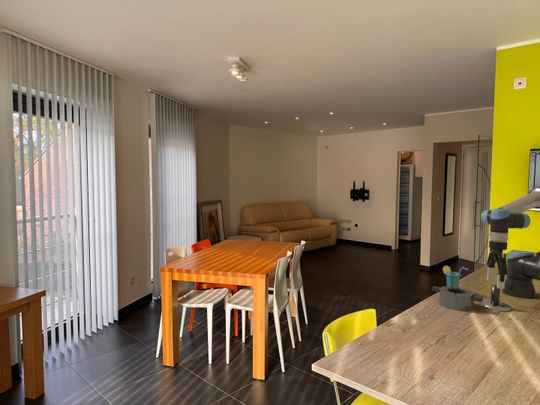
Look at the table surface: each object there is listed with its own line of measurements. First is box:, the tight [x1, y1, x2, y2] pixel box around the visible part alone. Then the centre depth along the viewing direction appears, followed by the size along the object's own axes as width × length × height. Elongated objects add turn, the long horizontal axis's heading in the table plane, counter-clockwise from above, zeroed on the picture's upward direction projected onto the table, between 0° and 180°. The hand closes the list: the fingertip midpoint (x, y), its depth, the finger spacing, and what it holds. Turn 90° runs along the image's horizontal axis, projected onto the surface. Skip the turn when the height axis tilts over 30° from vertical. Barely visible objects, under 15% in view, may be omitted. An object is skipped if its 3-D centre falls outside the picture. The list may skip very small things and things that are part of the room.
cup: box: [442, 265, 470, 287], centre depth 199 cm, size 14×8×15 cm, turn 44°
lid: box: [478, 284, 512, 313], centre depth 178 cm, size 13×13×10 cm
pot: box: [431, 285, 484, 311], centre depth 180 cm, size 23×15×7 cm, turn 42°
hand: (495, 284), depth 178 cm, fingers open, 13 cm apart
